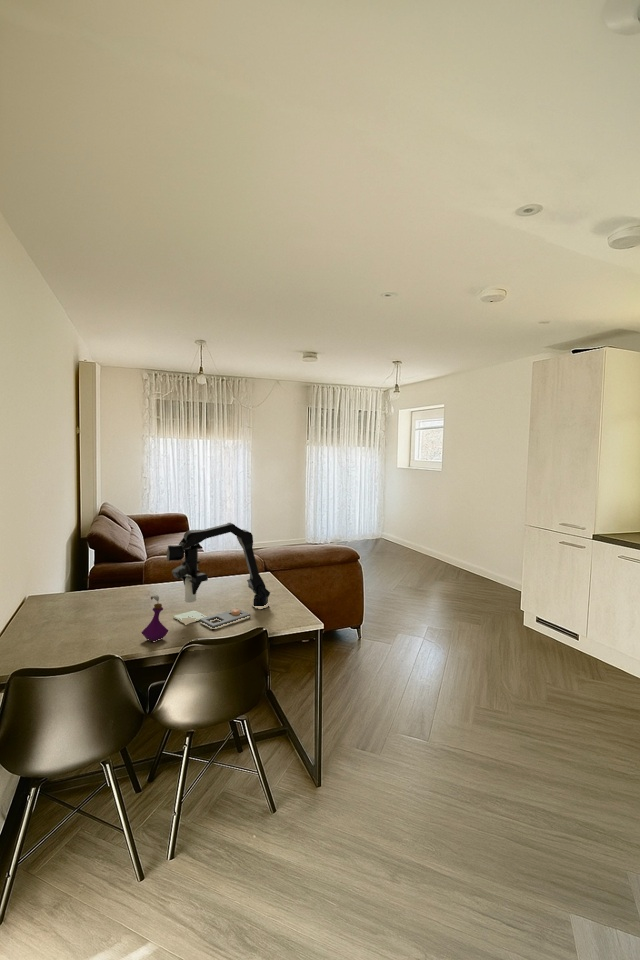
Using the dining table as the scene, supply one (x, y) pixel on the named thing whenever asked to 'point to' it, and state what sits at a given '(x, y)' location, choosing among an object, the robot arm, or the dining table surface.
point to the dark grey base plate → (223, 618)
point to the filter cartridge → (189, 591)
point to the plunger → (235, 612)
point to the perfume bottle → (155, 624)
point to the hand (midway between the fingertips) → (190, 592)
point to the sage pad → (190, 615)
